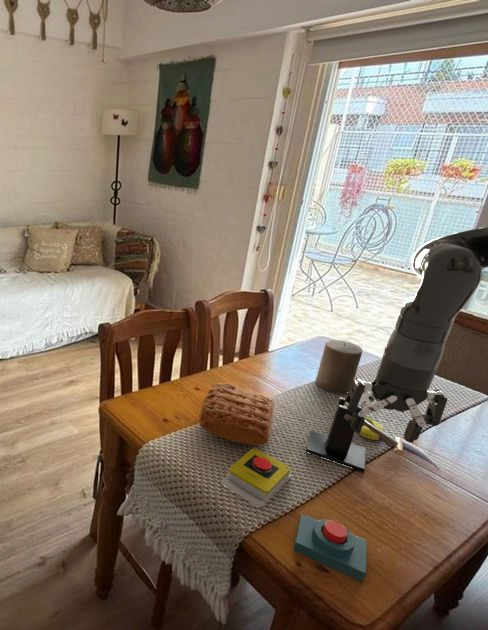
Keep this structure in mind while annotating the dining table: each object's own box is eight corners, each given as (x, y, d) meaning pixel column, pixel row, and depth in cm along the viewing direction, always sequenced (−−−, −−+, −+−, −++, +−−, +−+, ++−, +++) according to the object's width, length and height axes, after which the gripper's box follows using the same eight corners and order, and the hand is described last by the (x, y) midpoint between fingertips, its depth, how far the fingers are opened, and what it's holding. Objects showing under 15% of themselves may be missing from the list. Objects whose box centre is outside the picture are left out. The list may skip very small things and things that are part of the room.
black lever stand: (364, 451, 107) (381, 404, 102) (363, 473, 100) (381, 423, 95) (309, 433, 113) (323, 388, 108) (305, 453, 106) (319, 405, 101)
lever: (397, 445, 101) (405, 439, 100) (397, 457, 97) (406, 451, 96) (339, 405, 105) (347, 399, 104) (338, 415, 101) (345, 409, 100)
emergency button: (296, 461, 97) (264, 493, 88) (292, 476, 99) (260, 510, 90) (257, 439, 104) (222, 468, 94) (253, 454, 105) (219, 484, 96)
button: (345, 533, 81) (347, 526, 80) (344, 547, 78) (346, 540, 77) (323, 524, 82) (325, 517, 82) (321, 537, 80) (323, 530, 79)
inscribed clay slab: (263, 463, 102) (270, 435, 99) (190, 439, 110) (194, 412, 107) (274, 415, 120) (280, 390, 117) (211, 397, 128) (215, 373, 125)
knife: (449, 466, 103) (343, 411, 123) (453, 457, 102) (345, 403, 122) (433, 478, 99) (326, 419, 119) (437, 469, 98) (329, 411, 118)
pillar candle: (350, 398, 129) (364, 352, 124) (313, 388, 134) (325, 344, 128) (350, 383, 137) (364, 340, 131) (315, 374, 142) (327, 332, 136)
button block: (363, 548, 82) (369, 533, 80) (362, 582, 76) (369, 566, 74) (299, 521, 87) (303, 506, 86) (293, 550, 81) (298, 535, 80)
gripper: (371, 361, 73) (344, 440, 79) (472, 375, 70) (435, 456, 76) (357, 342, 80) (333, 416, 86) (448, 354, 76) (416, 430, 83)
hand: (381, 435), depth 81 cm, fingers open, 8 cm apart
